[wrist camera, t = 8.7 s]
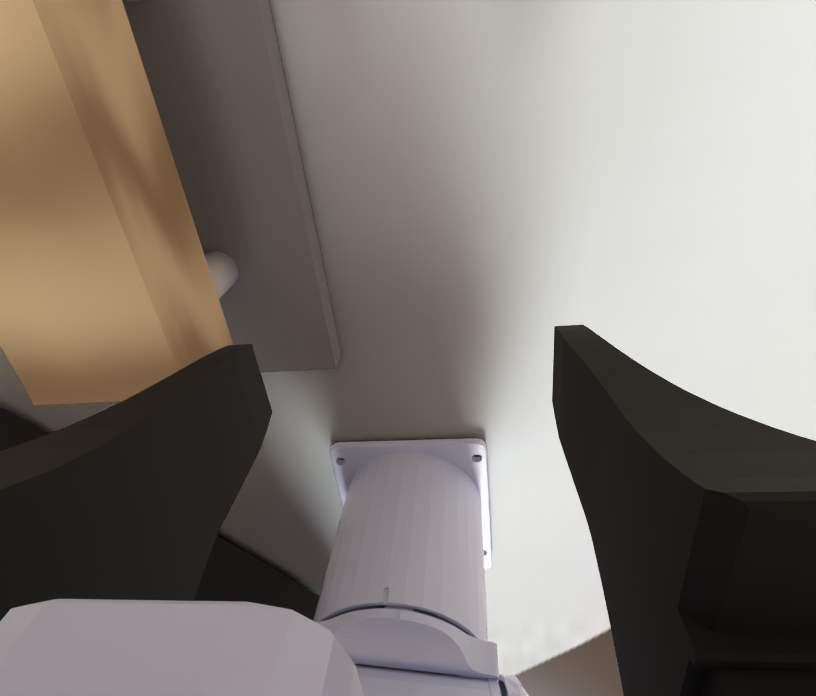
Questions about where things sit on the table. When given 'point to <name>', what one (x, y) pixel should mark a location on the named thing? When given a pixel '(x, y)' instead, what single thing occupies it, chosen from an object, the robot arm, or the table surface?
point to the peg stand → (241, 172)
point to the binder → (226, 566)
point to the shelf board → (92, 213)
